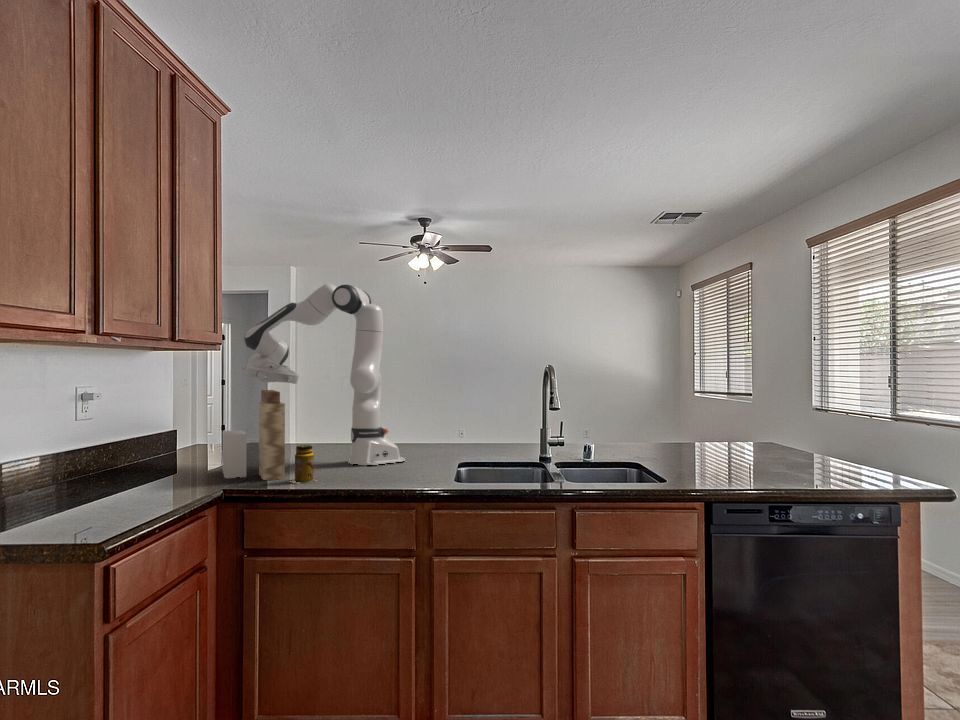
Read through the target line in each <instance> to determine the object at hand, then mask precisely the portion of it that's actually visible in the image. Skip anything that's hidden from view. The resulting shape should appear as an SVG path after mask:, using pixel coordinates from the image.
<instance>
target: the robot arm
mask: <svg viewBox="0 0 960 720" xmlns="http://www.w3.org/2000/svg"><path fill="white" fill-rule="evenodd" d="M337 309H338V310H340V311H341V312H344V313H347V314H350V315H353V316H354V318H355V321H356V322H355V323H356V324H355V335H354V336H355V337H354V350H353V356H352V361H351V369H350V370H351V371H350V378H349V380H350V386H351V388H352V389H353V391H354V392H353V401H352V413H351V414H352V417H351V418H352V419H351V422H352V426H351V430H350V441H351V448H350V454H349V459H348V462H347V463H348V464H349V463H350V464H349V465H353V464H358V465H357V466H367V465H377V466H379V465H378V464H385V463H394V464H396V463H395V462H402V461H405V462H406V458H404V457H402V456H401V455H400V450H399V447H398V446H397V444H396V443H394V442H393V441H391V440H390V439H389V438H388V437H386V435H387V434H389V429H388V428H383V427H381V402H382V399H381V398H382V386H383V385H382V382H383V381H382V373H381V371H380V370H381V369H380V368H381V361H382V354H383V341H384V313H383V310H382V308H381V307H380V306H379V305H377V304H375V303H374V304H373V303H372V299H371V297H370V295H369V294H368V293H367V292H366V290H363V289H361V288H359V287H357V286H354V285H350V284H341V285H338V286H336V285H335V284H332V283H325V284H323V285H322V286H319V288H317V289H316V290H314V291H313V292H312V293H311V294H310V295H309V296H307V298H305V299H304V300H302V301H300V302H290V303H288V304H286V305H285V306H283V307H281V308H280V309H278V310H277V311H275V312H274V313H273V314H271V315H270V316H268V317H267V318H265V319H264V320H262V321H261V322H259V323H257V324H256V325H253V326H252V327H251V328H249V329H248V330H247V331H246V332H245V334H244V343H245V346H246V347H247V348H249V349H250V350H253V351H255V353H256V354H253V355H251V356H250V357H249V358H248V361H247V364H246V365H245V366H242V367H241V369H242V370H244V375H245V376H247V377H249V378H256V379H258V380H259V381H261V382H262V383H266V384H267V383H276V382H277V383H287V384H294V385H296V384H298V381H299V377H300V376H299V374H298V373H296V372H295V371H294V370H293V369H291V367H290V366H286V365H284V363H286V361H287V359H288V357H289V354H290V351H289V350H290V349H289V345H288V344H287V343H285V342H284V341H283V340H282V339H281V338H280V337H277V336H276V335H275V334H273V333H272V332H271V331H272V330H273V329H275V328H277V327H278V326H279V325H281V324H282V323H284V322H288V321H289V322H290V321H292V322H297V323H300V324H302V325H307V326H317V325H319V324H321V323H323V322H324V321H325V320H326V319H327V318H328V317H329V316H330V315H331V314H332V313H333V312H334V311H335V310H337ZM385 465H386V464H385Z"/></svg>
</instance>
